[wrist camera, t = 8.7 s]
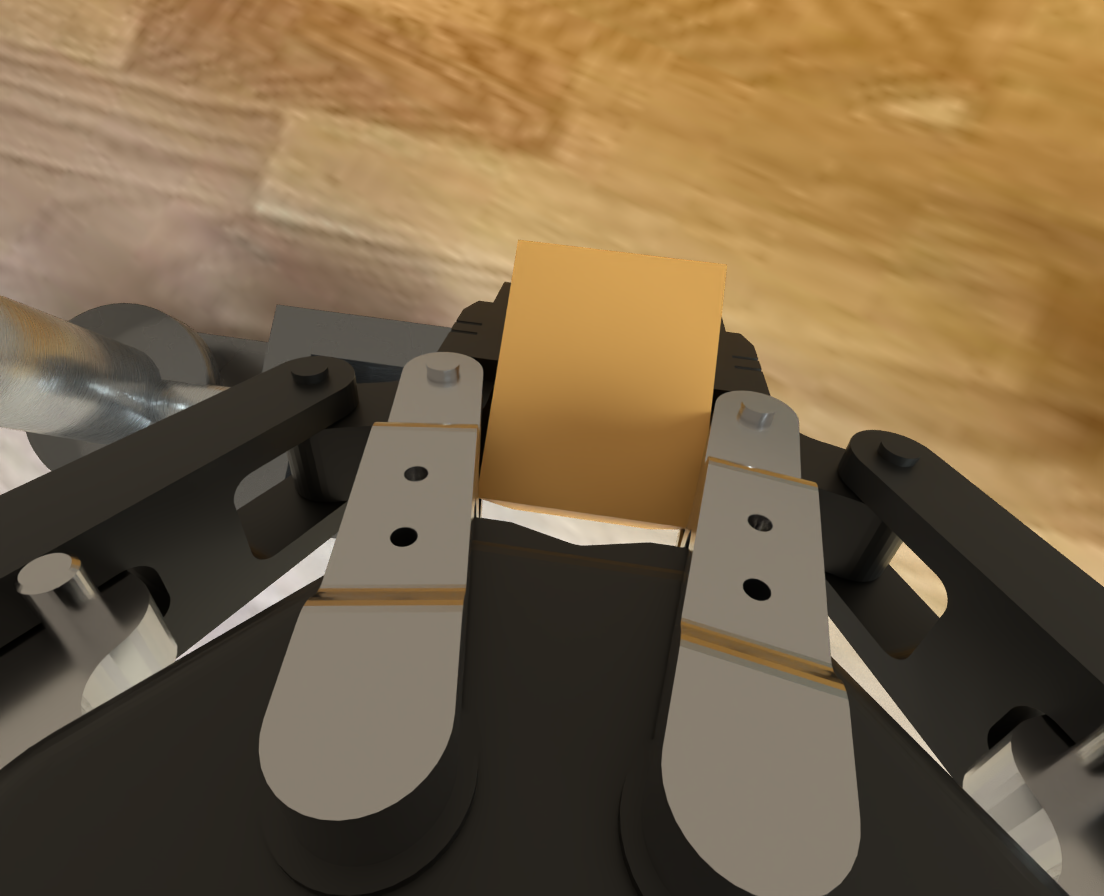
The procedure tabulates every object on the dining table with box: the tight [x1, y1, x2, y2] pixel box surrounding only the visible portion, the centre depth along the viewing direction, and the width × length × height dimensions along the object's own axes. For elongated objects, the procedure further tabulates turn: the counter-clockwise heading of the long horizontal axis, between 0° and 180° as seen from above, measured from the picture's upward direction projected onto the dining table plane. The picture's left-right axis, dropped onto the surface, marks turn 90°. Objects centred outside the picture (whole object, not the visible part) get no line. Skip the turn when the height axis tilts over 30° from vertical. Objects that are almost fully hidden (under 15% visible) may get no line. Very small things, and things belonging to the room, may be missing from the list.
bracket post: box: [0, 295, 452, 538], centre depth 23 cm, size 21×10×18 cm, turn 81°
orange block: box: [479, 240, 727, 529], centre depth 12 cm, size 3×4×8 cm
